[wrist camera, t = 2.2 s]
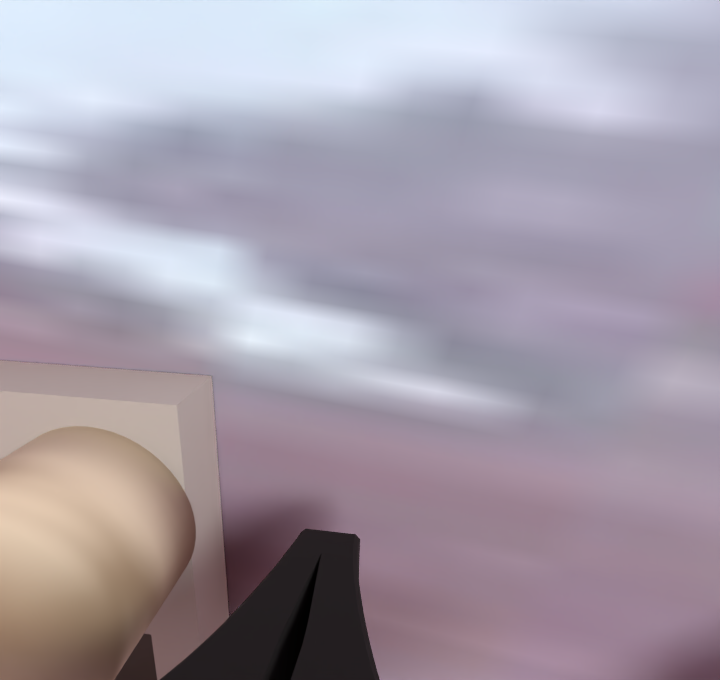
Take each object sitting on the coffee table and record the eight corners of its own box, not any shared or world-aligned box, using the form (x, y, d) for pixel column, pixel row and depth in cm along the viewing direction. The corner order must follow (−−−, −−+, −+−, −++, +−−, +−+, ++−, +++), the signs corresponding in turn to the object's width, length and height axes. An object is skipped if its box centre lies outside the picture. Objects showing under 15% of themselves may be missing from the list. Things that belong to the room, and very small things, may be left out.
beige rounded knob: (202, 607, 13) (129, 744, 10) (28, 583, 14) (-97, 705, 11) (187, 435, 12) (94, 529, 8) (-9, 417, 12) (-169, 499, 9)
